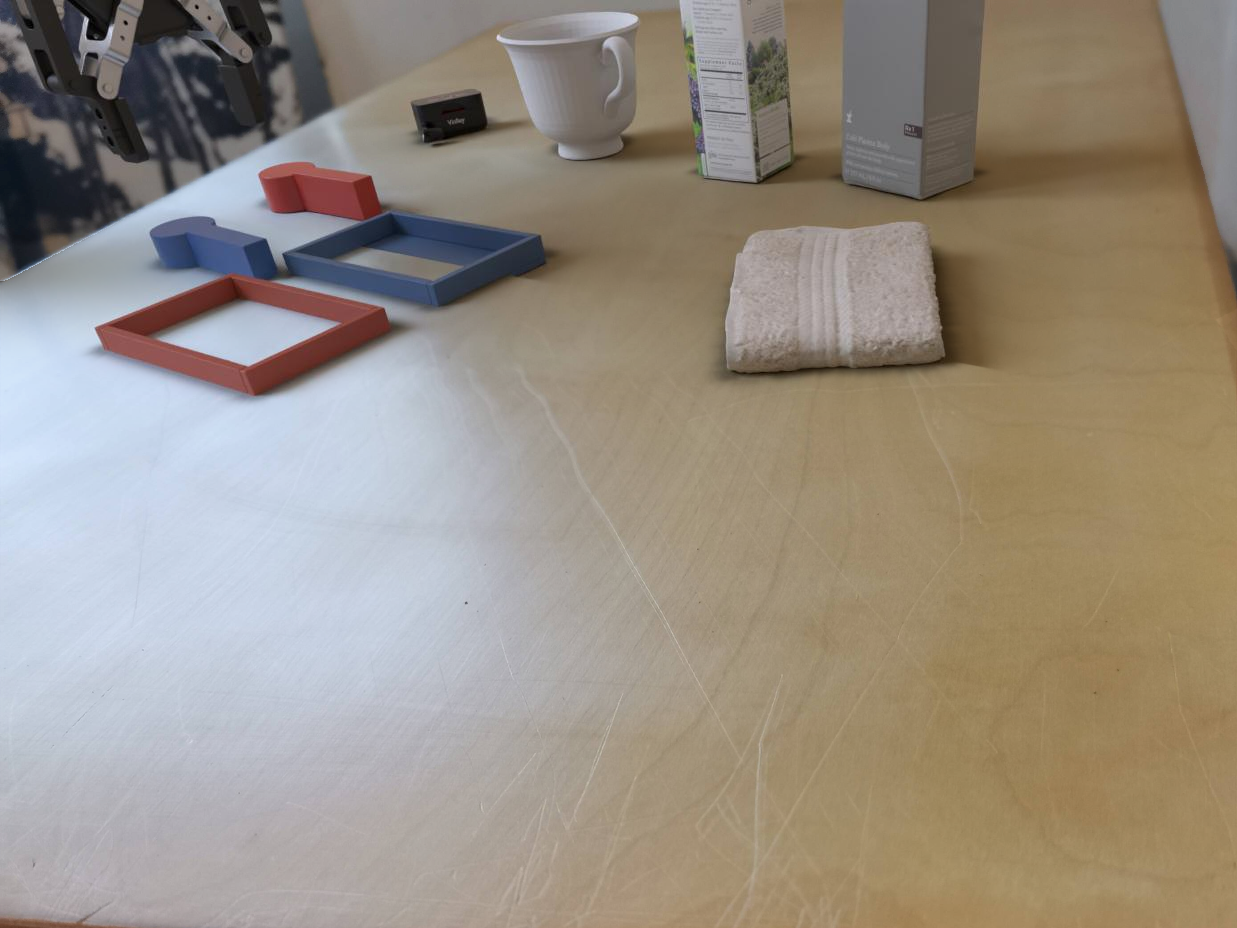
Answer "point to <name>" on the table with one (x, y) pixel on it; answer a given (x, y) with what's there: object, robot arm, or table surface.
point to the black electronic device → (449, 114)
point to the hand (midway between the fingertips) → (196, 142)
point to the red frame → (130, 341)
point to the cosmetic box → (910, 93)
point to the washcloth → (834, 299)
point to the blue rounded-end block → (212, 248)
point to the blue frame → (419, 255)
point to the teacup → (577, 78)
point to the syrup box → (738, 87)
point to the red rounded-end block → (319, 191)
